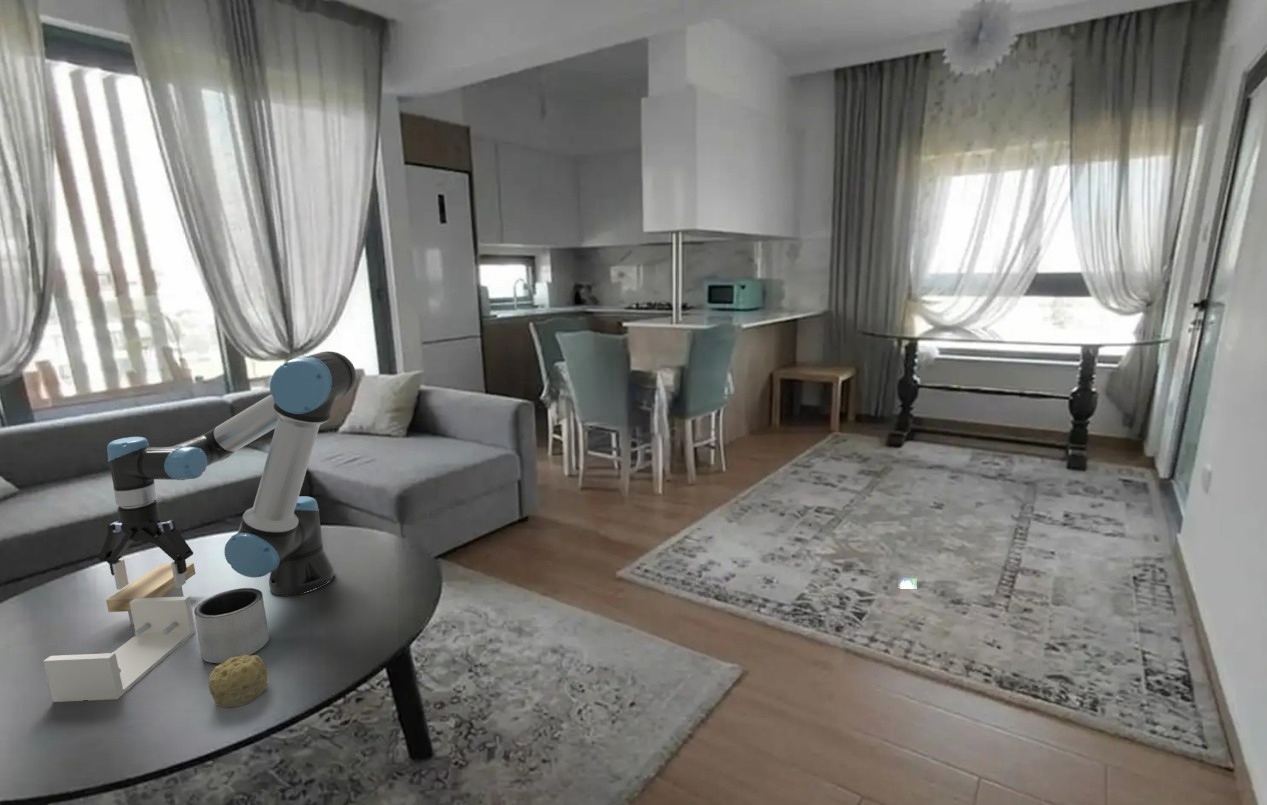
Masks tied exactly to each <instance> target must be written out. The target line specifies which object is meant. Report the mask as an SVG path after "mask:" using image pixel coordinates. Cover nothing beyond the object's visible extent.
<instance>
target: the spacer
mask: <svg viewBox="0 0 1267 805" xmlns="http://www.w3.org/2000/svg"><path fill="white" fill-rule="evenodd" d="M164 597H185V596H184V592H183V585H182V586H181V587H179V588H175V589H174V590H172V591H171V592H170V593H168V594H167V595H166V596H164ZM127 614H128V619H129V624H130V625H134V622H133V617H132V612H131V611H127Z"/></svg>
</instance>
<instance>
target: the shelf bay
mask: <svg viewBox="0 0 1267 805" xmlns="http://www.w3.org/2000/svg"><path fill="white" fill-rule="evenodd" d="M129 603H130V607H131V612H132V617H133V622H134V624H133V626H134V636H133V637H131V638H130V639H129V640H127V641H126V642H124V643H123V644H121V646H119V647H117V649H115V650H114V651H113V652H106V653H105V652H104V653H88V654H87V653H86V654H85V653H83V654H64V655H63V654H62V655H49V656H48V657H46V659H44V660H43V665H44V668H45V673H46V678H47V682H48V687H49V690H50V694H51V698H52V699H51V700H52V702H53V703H66V702H81V701H83V700H88V701H105V700H119V699H121V697H122V696H123V695H124V694H125V693H126V692H128V691H129V690H130V689H131V688H133V686H135V685H136V684H137V683H138V682H140V681H141V680H142V679H143V678H144V677H145V676H146V675H148V673H150V672H151V671H152V670H154V668H156V667H157V666H158V665H159V664H160V663H161V662H162V661H164V660H165V659H166V658H167V657H169V655H170V654H172V653H173V652H174V651H175V650H176V649H178V648H179V647H180V646H181V645H182V644H183V643H184V642H185V641H187V640H188V639H189V638H191V637H192V635H193V634H195V633H196V631H197V630H196V626H195V624H196V623H195V621H194V620H195V619H194V614H193V609H192V602H191V597H190V595H189V596H187V595H186V596H184V597H161V598H137V599H133V600H132V601H131V602H129ZM83 702H84V701H83Z"/></svg>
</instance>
